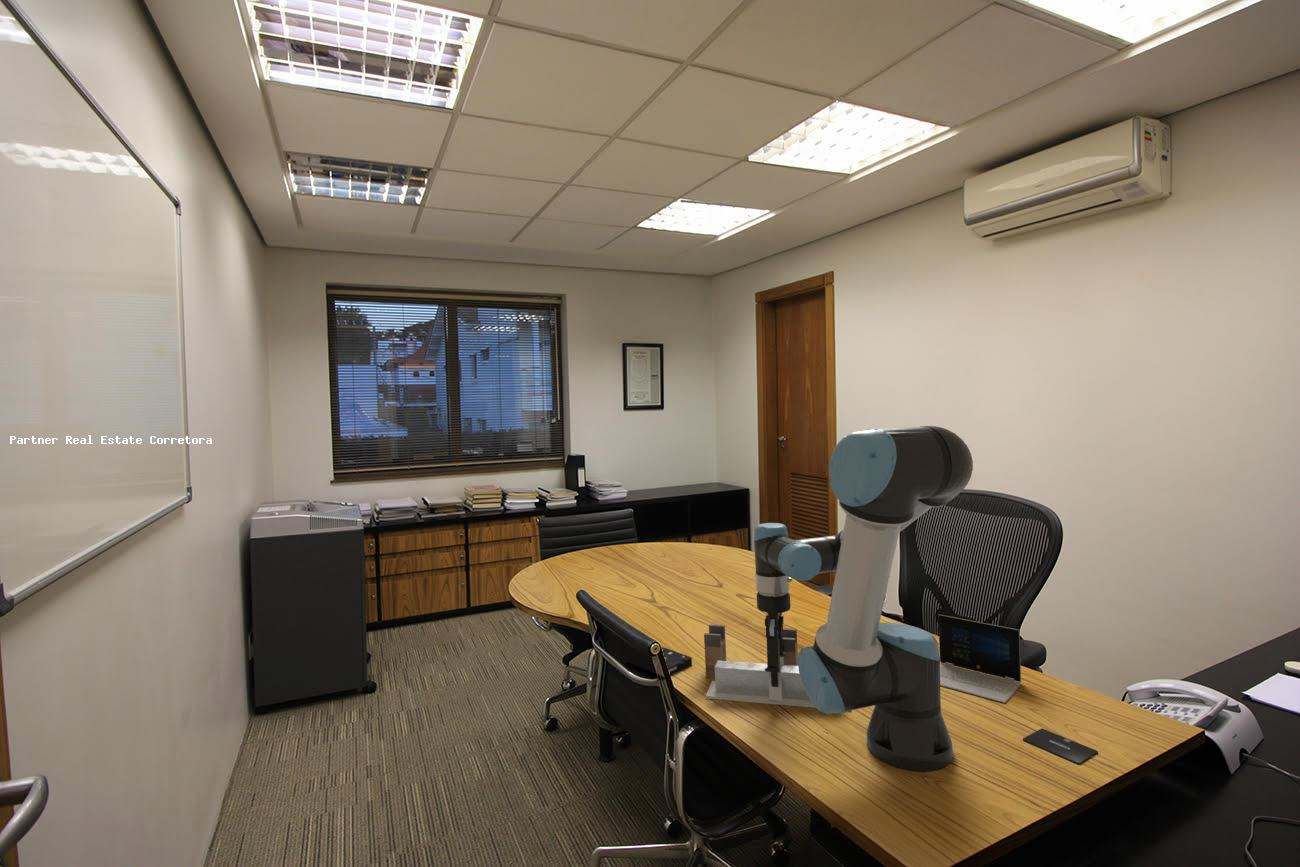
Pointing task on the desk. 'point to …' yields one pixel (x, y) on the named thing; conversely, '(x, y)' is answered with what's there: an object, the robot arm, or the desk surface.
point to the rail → (756, 680)
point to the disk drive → (676, 661)
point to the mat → (755, 698)
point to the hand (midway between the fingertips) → (777, 691)
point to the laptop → (979, 658)
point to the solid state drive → (1060, 746)
